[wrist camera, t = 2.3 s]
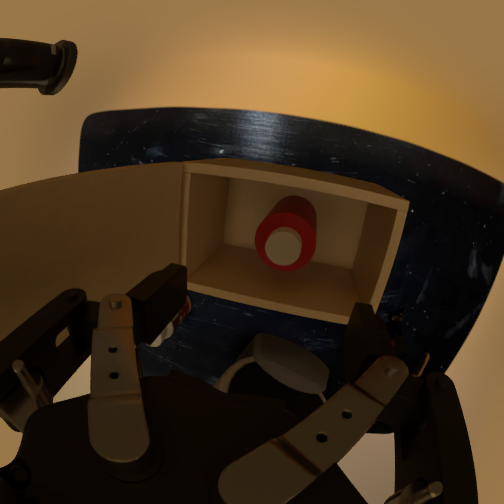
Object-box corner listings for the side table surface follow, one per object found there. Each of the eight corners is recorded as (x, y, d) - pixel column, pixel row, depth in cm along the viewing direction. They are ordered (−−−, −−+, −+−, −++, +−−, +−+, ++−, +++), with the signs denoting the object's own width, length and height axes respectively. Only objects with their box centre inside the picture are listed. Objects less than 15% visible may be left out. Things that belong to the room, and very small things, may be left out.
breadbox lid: (-81, 222, 3) (-79, 218, 3) (5, 416, 7) (0, 406, 7) (183, 162, 18) (174, 161, 19) (179, 291, 22) (171, 288, 23)
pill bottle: (180, 319, 38) (152, 354, 31) (157, 297, 38) (125, 328, 30) (198, 304, 36) (171, 340, 29) (174, 279, 36) (141, 310, 28)
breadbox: (377, 184, 26) (409, 201, 16) (355, 273, 30) (369, 328, 20) (227, 157, 29) (182, 161, 19) (218, 246, 33) (177, 287, 23)
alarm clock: (346, 370, 35) (345, 482, 18) (305, 403, 39) (288, 499, 23) (253, 317, 35) (203, 431, 19) (220, 359, 39) (172, 455, 23)
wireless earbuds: (404, 334, 31) (409, 349, 28) (355, 346, 33) (357, 362, 30) (402, 306, 30) (408, 321, 27) (350, 320, 32) (352, 335, 29)
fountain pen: (394, 407, 36) (395, 413, 35) (388, 407, 36) (389, 413, 35) (430, 346, 31) (433, 353, 29) (424, 346, 31) (427, 352, 30)
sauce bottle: (264, 226, 30) (240, 260, 21) (284, 187, 28) (267, 204, 19) (303, 246, 29) (296, 289, 20) (324, 208, 28) (328, 236, 18)
